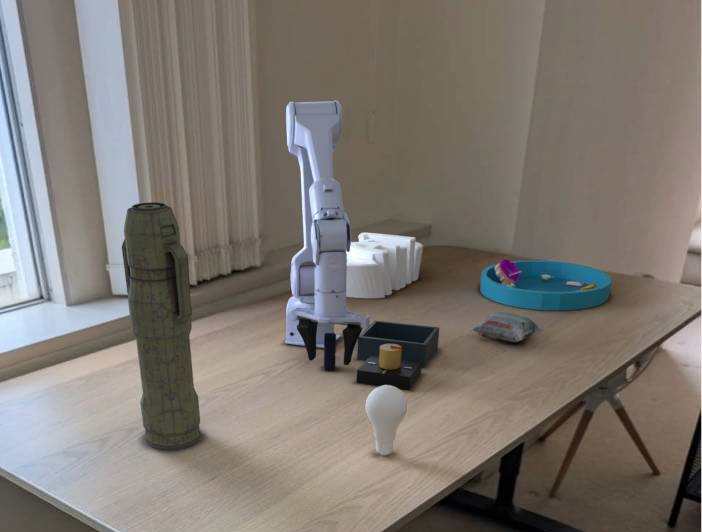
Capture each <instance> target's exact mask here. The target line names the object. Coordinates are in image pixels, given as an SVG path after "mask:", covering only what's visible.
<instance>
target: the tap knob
mask: <svg viewBox="0 0 702 532" xmlns="http://www.w3.org/2000/svg"><path fill="white" fill-rule="evenodd" d="M401 353H402V346H400V345H397V344H383V345H381V346H380V348H379V367H380V368H383V369H388V370H393V369H398V368H400V367H401Z"/></svg>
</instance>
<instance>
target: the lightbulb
mask: <svg viewBox="0 0 702 532" xmlns="http://www.w3.org/2000/svg"><path fill="white" fill-rule="evenodd" d="M407 411H408V400H407V397H406V395H405V393H404V392H403V391H402V389H398V388H396V387H394V386H391V385H383V386H376V387H375V388H374V389H372V391H371V392H369V394H368V395H367V398H366V400H365V412H366V415H367V417H368V420H369V421H370V423H371V426H372V428H373V436H374V440H375V451H376V453H377V454H380V455H381V456H387V455H389V454H391V453H392V452H393V450H394V449H393V448H394V441H395V440H396V435H397V431H398V428H399V426H400V424H401V423H402V421H403V419H405V416H406V414H407Z"/></svg>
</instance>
